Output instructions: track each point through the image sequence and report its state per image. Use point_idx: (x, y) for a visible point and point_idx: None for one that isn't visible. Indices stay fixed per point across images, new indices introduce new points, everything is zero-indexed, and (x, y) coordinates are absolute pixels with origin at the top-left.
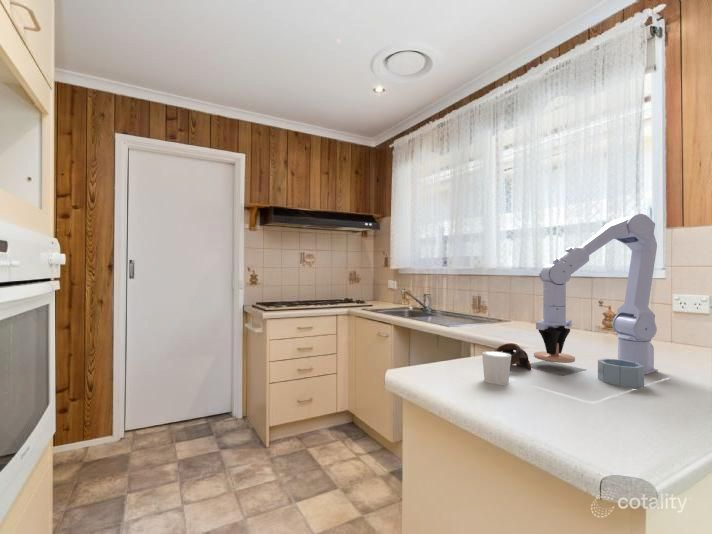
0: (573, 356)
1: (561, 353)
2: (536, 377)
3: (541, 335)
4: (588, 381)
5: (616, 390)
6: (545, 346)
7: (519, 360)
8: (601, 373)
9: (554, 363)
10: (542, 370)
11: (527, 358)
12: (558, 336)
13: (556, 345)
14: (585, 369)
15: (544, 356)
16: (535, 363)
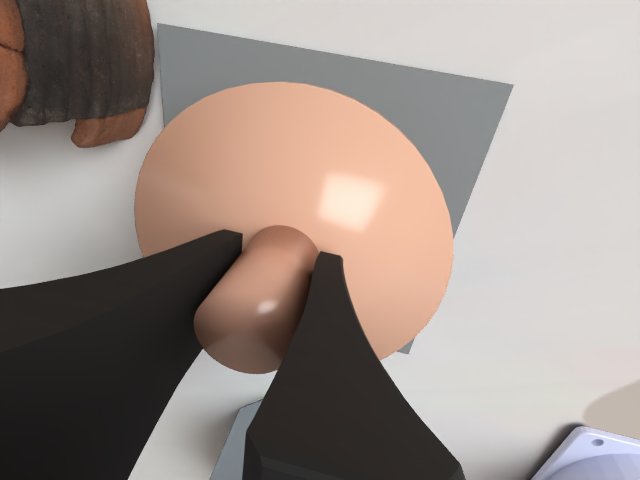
0: (379, 359)
1: (433, 277)
2: (53, 211)
3: (11, 292)
4: (218, 372)
5: (194, 434)
6: (177, 248)
7: (92, 14)
8: (239, 437)
9: (438, 181)
10: None
11: (57, 116)
12: (121, 473)
13: (192, 356)
14: (409, 349)
15: (173, 220)
16: (310, 75)
